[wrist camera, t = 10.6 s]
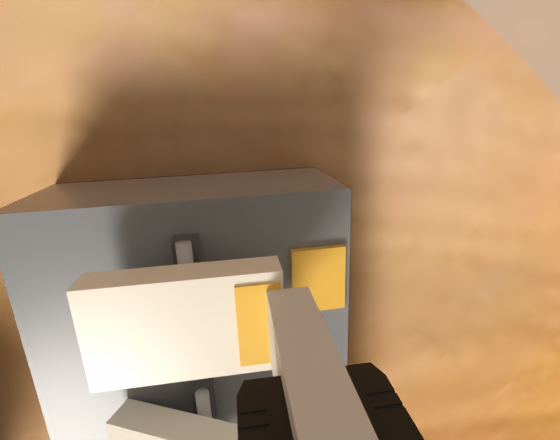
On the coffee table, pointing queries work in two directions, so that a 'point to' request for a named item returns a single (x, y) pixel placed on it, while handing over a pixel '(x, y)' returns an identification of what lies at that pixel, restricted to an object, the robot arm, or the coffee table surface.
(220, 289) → the block
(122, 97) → the coffee table surface
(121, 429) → the rocker
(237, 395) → the robot arm
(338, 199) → the console
